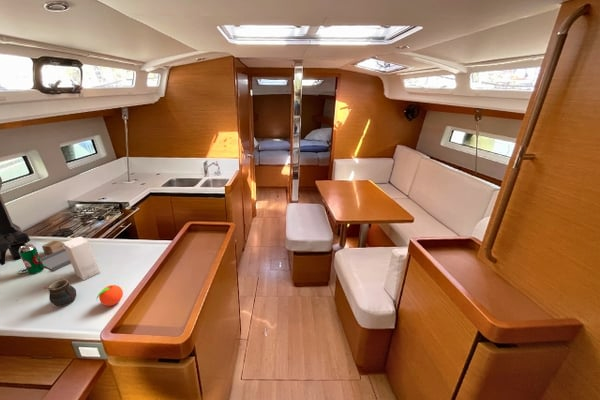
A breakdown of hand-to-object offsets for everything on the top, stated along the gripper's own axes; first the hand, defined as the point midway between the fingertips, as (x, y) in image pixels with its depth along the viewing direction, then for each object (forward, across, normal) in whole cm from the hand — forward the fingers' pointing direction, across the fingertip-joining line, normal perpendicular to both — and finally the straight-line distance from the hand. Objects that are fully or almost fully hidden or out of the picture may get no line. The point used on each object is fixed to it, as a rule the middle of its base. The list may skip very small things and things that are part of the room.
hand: (3, 264), depth 103 cm
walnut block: (+9, +19, +10) cm, 23 cm away
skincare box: (+9, +16, -22) cm, 29 cm away
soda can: (+9, +8, 0) cm, 12 cm away
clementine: (+9, +10, -49) cm, 51 cm away
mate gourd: (+9, +3, -33) cm, 34 cm away
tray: (+8, +17, 0) cm, 19 cm away
